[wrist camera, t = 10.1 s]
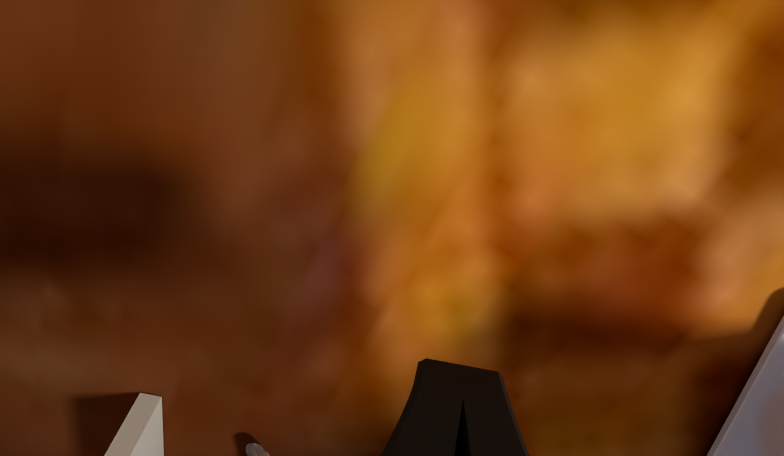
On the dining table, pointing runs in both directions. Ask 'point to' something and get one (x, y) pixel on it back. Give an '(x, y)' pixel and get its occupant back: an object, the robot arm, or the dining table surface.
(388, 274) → the dining table surface
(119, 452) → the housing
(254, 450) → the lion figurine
